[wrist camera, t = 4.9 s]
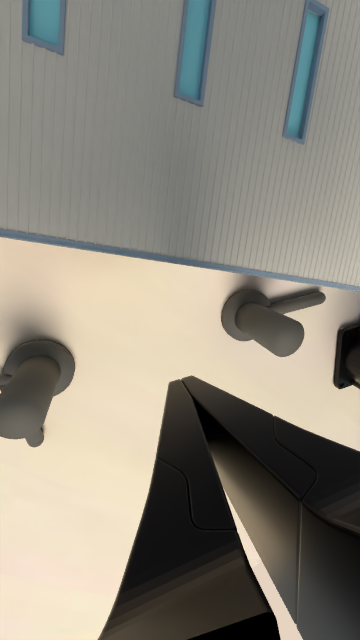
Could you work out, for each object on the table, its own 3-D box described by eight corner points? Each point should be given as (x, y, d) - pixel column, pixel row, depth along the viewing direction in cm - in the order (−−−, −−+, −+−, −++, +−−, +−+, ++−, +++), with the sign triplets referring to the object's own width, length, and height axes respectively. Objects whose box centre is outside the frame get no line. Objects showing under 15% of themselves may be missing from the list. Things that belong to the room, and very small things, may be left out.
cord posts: (315, 352, 23) (368, 381, 18) (32, 441, 18) (6, 512, 13) (320, 272, 20) (383, 282, 15) (-13, 351, 15) (-66, 400, 10)
